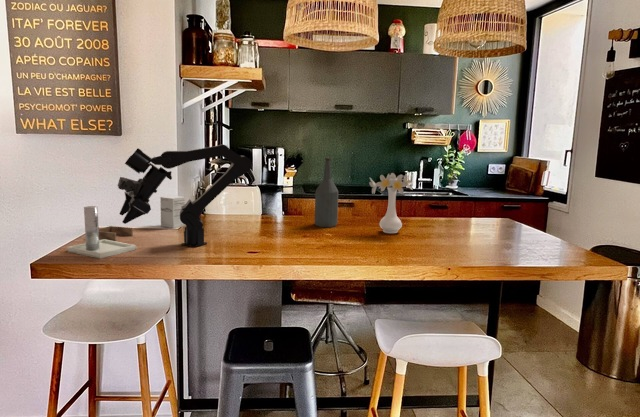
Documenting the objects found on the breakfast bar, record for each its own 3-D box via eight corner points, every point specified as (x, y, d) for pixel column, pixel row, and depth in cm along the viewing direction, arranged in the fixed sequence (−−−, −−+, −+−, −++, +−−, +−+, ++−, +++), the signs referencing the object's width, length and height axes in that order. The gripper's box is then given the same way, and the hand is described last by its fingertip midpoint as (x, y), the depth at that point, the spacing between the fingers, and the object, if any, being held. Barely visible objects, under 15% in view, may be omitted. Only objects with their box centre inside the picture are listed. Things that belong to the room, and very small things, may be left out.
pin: (101, 247, 157) (99, 206, 155) (97, 250, 153) (95, 208, 151) (88, 247, 156) (86, 206, 154) (84, 250, 152) (82, 208, 150)
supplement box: (160, 226, 197) (159, 196, 195) (173, 223, 203) (172, 194, 201) (173, 228, 193) (172, 198, 191) (186, 225, 200) (185, 196, 198)
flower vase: (363, 229, 202) (365, 171, 198) (402, 228, 207) (405, 171, 203) (375, 236, 190) (378, 174, 186) (416, 234, 195) (419, 174, 191)
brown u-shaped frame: (133, 235, 179) (132, 227, 178) (115, 241, 169) (114, 233, 168) (110, 233, 181) (110, 226, 180) (91, 239, 171) (91, 231, 170)
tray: (136, 249, 158) (136, 245, 158) (99, 258, 146) (99, 253, 146) (104, 243, 165) (104, 239, 165) (67, 251, 153) (66, 247, 153)
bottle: (310, 223, 212) (312, 157, 207) (329, 222, 217) (331, 157, 212) (321, 228, 203) (323, 158, 198) (341, 226, 208) (343, 158, 203)
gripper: (126, 162, 163) (98, 198, 162) (133, 174, 147) (102, 214, 146) (153, 180, 169) (126, 215, 168) (163, 194, 153) (133, 232, 152)
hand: (122, 218), depth 159 cm, fingers open, 9 cm apart
